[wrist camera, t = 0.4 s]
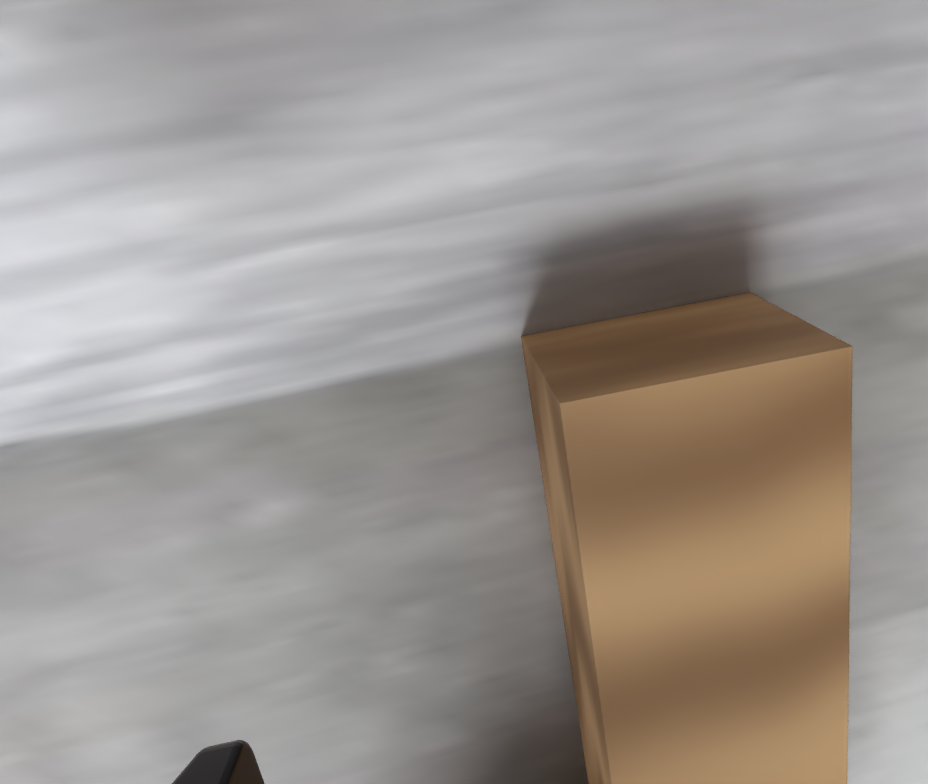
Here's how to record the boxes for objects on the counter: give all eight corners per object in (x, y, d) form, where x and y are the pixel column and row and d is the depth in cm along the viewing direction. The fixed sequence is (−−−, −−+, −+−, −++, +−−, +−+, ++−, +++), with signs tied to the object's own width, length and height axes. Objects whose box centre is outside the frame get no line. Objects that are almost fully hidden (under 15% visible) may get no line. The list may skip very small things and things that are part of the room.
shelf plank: (763, 752, 26) (845, 893, 21) (588, 788, 26) (632, 939, 21) (745, 289, 20) (852, 346, 16) (519, 333, 20) (559, 404, 15)
